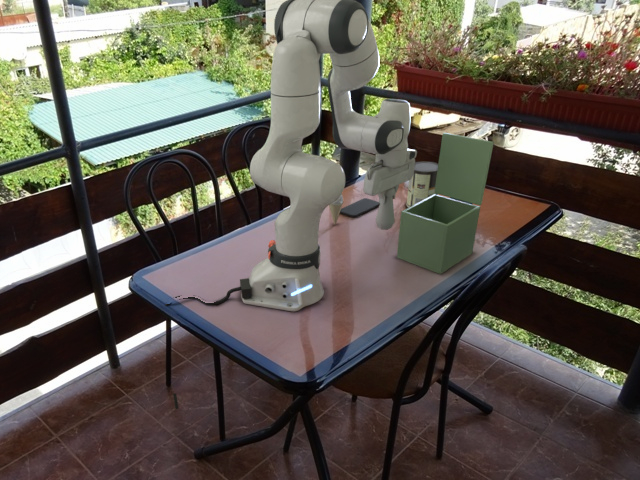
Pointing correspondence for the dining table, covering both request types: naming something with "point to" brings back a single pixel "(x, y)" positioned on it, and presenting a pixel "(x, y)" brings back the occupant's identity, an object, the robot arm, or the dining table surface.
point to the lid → (463, 167)
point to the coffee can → (422, 182)
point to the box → (437, 232)
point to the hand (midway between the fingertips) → (386, 201)
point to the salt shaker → (386, 212)
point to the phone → (359, 207)
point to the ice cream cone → (336, 208)
